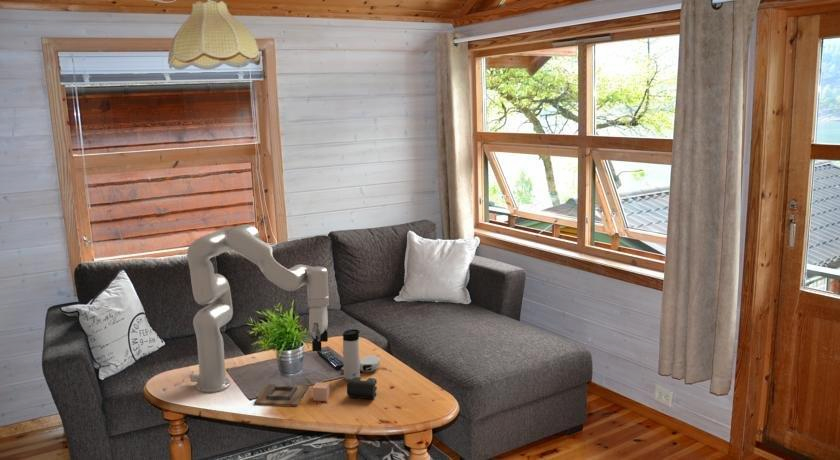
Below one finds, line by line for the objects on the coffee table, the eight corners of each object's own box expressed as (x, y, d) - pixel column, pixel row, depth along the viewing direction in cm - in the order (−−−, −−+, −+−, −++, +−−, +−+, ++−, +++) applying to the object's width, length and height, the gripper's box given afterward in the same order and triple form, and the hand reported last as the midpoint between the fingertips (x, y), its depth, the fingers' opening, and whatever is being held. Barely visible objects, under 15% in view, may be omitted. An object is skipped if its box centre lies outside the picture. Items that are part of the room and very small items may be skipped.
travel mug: (358, 382, 268) (357, 333, 264) (341, 381, 270) (340, 332, 266) (362, 376, 274) (361, 328, 270) (346, 374, 276) (345, 327, 272)
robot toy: (340, 376, 276) (377, 375, 275) (339, 366, 276) (376, 364, 274) (346, 364, 288) (382, 363, 287) (345, 354, 288) (381, 353, 286)
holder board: (254, 404, 250) (253, 399, 249) (268, 386, 265) (267, 381, 265) (297, 406, 248) (297, 401, 248) (308, 387, 264) (308, 382, 263)
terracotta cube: (313, 400, 253) (312, 387, 252) (316, 394, 258) (316, 382, 257) (326, 401, 252) (326, 388, 252) (329, 395, 257) (329, 382, 256)
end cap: (346, 400, 253) (346, 383, 252) (352, 392, 260) (351, 375, 259) (373, 402, 251) (372, 384, 250) (377, 394, 258) (377, 377, 257)
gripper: (314, 294, 257) (316, 337, 260) (301, 308, 240) (304, 354, 243) (333, 294, 256) (335, 338, 259) (322, 308, 239) (324, 355, 242)
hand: (320, 346), depth 251 cm, fingers open, 9 cm apart
